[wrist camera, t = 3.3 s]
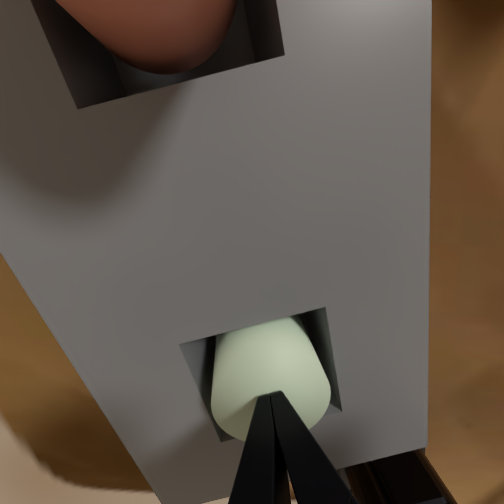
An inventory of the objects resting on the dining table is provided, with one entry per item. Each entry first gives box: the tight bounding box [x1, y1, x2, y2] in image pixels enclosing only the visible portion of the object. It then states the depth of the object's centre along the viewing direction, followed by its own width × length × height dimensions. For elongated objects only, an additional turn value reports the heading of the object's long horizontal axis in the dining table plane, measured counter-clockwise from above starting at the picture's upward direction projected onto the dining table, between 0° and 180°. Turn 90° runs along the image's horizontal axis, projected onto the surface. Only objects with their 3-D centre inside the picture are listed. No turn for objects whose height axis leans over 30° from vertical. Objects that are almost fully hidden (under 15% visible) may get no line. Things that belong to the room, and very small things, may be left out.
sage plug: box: [211, 314, 331, 441], centre depth 11 cm, size 4×4×5 cm
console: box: [0, 0, 432, 504], centre depth 9 cm, size 24×12×5 cm, turn 14°
